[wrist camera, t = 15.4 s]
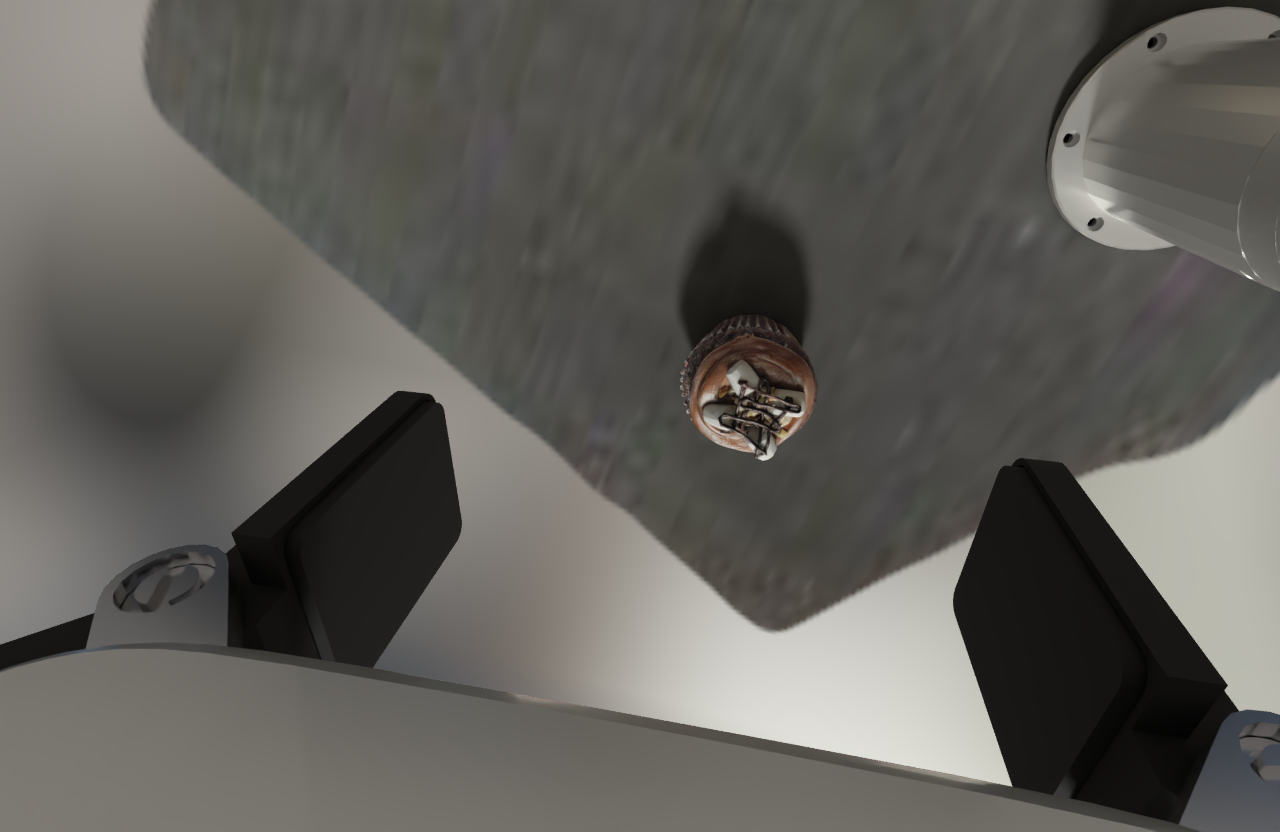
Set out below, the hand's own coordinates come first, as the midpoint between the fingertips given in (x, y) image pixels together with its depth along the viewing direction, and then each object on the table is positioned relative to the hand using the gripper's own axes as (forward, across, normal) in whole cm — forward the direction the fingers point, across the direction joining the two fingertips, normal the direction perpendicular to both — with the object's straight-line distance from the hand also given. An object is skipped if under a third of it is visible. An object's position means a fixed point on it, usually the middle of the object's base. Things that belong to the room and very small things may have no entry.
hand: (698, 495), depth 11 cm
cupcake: (+36, -1, +13) cm, 39 cm away
